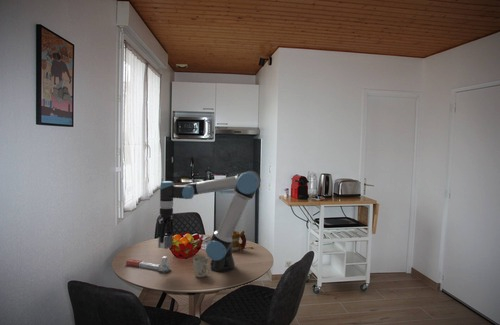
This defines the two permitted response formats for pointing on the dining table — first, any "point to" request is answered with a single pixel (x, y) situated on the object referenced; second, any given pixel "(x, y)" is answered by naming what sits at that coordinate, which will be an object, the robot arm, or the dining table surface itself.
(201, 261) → the mug
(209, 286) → the dining table surface
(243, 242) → the mug
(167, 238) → the socket
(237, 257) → the dining table surface
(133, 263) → the ratchet
